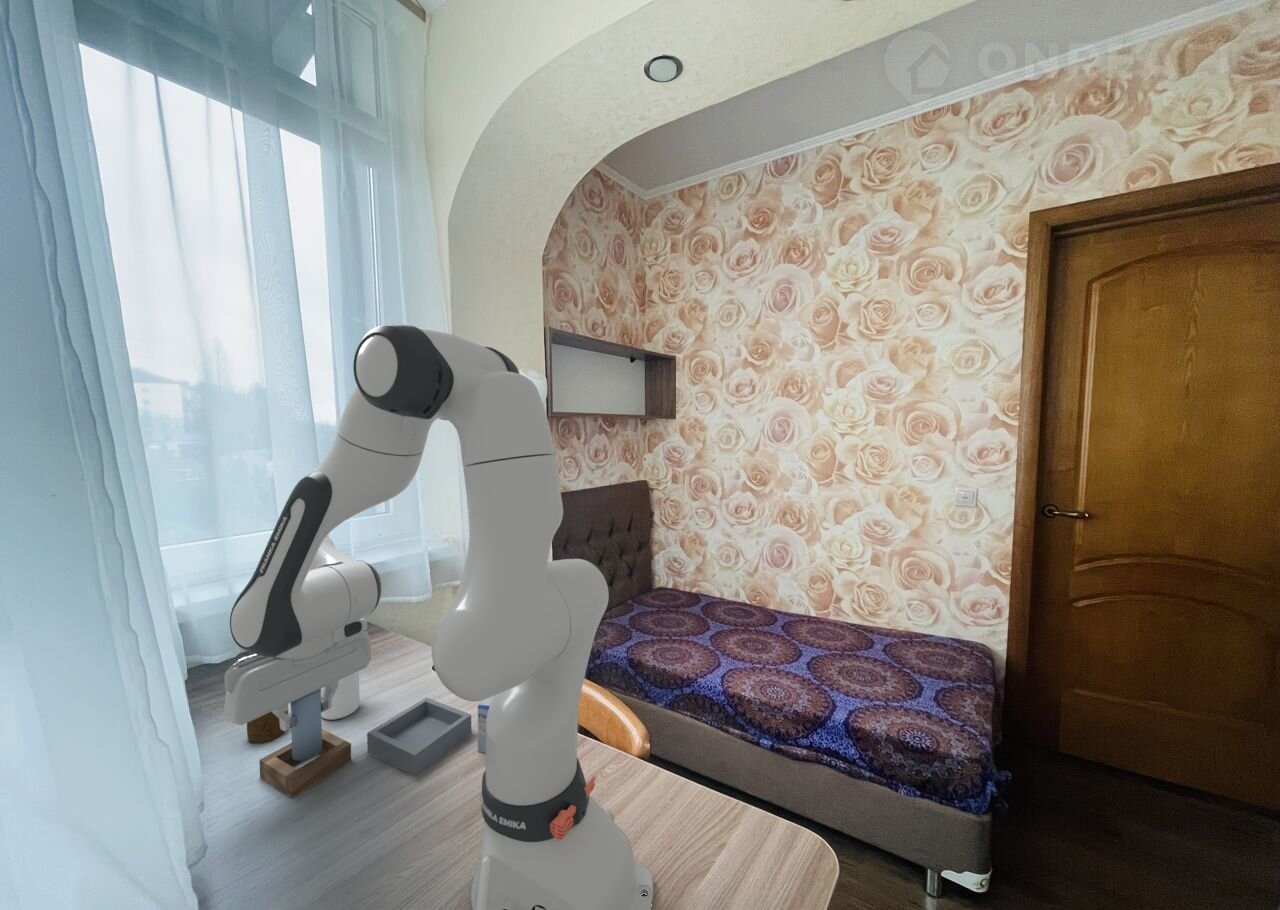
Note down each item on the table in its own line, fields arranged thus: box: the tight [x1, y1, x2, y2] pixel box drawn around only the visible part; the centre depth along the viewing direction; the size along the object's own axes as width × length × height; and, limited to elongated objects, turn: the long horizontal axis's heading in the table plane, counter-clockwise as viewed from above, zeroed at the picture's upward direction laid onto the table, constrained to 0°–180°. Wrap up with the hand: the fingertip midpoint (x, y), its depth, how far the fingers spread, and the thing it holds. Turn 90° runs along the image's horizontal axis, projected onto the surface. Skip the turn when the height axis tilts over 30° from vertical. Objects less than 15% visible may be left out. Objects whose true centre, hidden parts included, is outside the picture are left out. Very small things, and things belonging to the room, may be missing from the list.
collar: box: [259, 728, 352, 799], centre depth 75 cm, size 9×9×3 cm
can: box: [321, 670, 360, 721], centre depth 91 cm, size 6×6×12 cm
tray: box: [366, 696, 472, 777], centre depth 82 cm, size 12×12×4 cm
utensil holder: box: [246, 709, 289, 744], centre depth 84 cm, size 6×6×12 cm
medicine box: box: [477, 696, 495, 754], centre depth 83 cm, size 8×4×9 cm, turn 168°
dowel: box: [290, 689, 323, 761], centre depth 75 cm, size 4×4×10 cm
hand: (306, 718), depth 75 cm, fingers closed on dowel, 4 cm apart
